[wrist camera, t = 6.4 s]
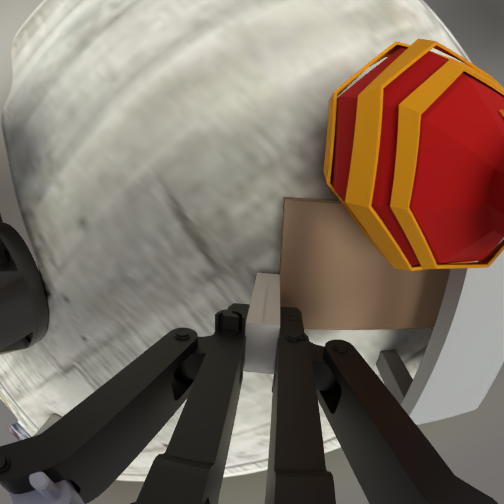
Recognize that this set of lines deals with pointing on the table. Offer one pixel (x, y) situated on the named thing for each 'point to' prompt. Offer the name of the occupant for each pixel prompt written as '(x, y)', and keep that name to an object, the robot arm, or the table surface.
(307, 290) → the panel
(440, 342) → the shelf
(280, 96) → the table surface
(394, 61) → the potion bottle
